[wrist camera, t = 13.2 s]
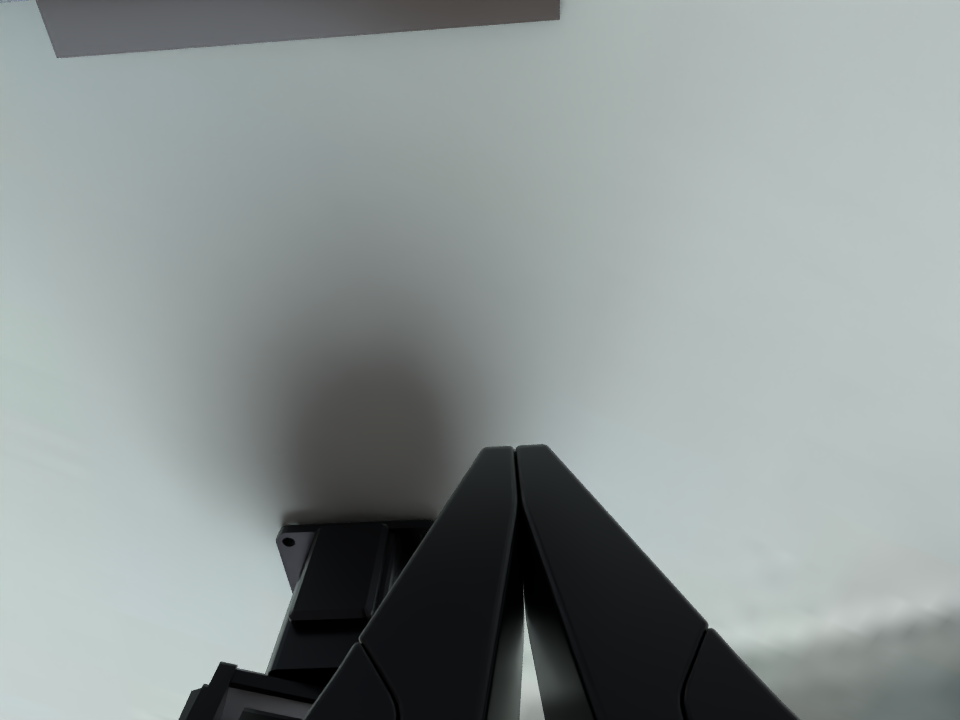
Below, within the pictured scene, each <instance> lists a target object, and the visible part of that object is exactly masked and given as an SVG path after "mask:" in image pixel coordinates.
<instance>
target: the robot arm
mask: <svg viewBox="0 0 960 720" xmlns="http://www.w3.org/2000/svg"><path fill="white" fill-rule="evenodd" d="M424 532H427V533H424ZM287 537H288V538H287ZM289 538H292V539H289ZM276 543H277V546H278V550H279V553H280V556H281V559H282V562H283V565H284V568H285V571H286V574H287V578H288V581H289V584H290V587H291V590H292V593H293V595H292V598H291V601H290V604H289V607H288V609H287V612H286V615H285V618H284V621H283V624H282V627H281V630H280V633H279V635H278V638H277V641H276V644H275V647H274V650H273V653H272V656H271V658H270V661H269V664H268V667H267V670H266V673H265V674H262V673H258V672H253V671H248V670H243V669H239V668H237V666H238V665H235V664H230V663H226V662H220V664H219V666H218V668H217V670H216V672H215V674H214V676H213V678H212V680H211V682H210V683H209V685H207V684H204V685H203V686H202V688H200V689H197V690H193V691H191V694H190V696H189V698H188V700H187V702H186V705H185V707H184V709H183V711H182V713H181V716H180V718H179V720H519V716H520V698H521V680H522V662H523V644H524V603H525V613H526V621H527V627H528V633H529V639H530V644H531V649H532V655H533V660H534V665H535V670H536V675H537V680H538V686H539V691H540V696H541V701H542V706H543V711H544V717H545V720H800V719H799V718H798V717H797V716H796V715H795V714H794V713H793V712H792V711H791V710H790V709H789V708H788V707H787V706H786V705H785V704H784V703H783V702H782V701H781V700H780V699H779V698H778V697H777V696H776V695H775V694H774V693H773V692H772V691H771V690H770V689H769V688H768V687H767V686H766V685H765V684H764V682H763V681H762V680H761V679H760V678H759V677H758V676H757V675H756V674H755V673H754V672H753V671H752V670H751V669H750V668H749V667H748V666H747V665H746V664H745V663H744V662H743V660H742V659H741V658H740V657H739V656H738V655H737V654H736V653H735V652H734V651H733V650H732V649H731V647H730V646H729V645H728V644H727V643H726V642H725V641H724V640H723V638H722V637H721V636H720V635H719V634H718V633H717V632H716V631H715V630H714V629H713V628H709V629H708V623H707V621H706V620H705V619H704V618H703V617H702V616H701V615H700V613H699V612H698V611H697V610H696V609H695V608H694V607H693V606H692V605H691V603H690V602H689V601H688V600H687V599H686V598H685V597H684V596H683V595H682V594H681V592H680V591H679V590H678V589H677V588H676V587H675V586H674V585H673V584H672V583H671V581H670V580H669V579H668V578H667V577H666V576H665V575H664V574H663V573H662V571H661V570H660V569H659V568H658V567H657V566H656V565H655V564H654V563H653V562H652V560H651V559H650V558H649V557H648V556H647V555H646V554H645V553H644V552H643V551H642V549H641V548H640V547H639V546H638V545H637V544H636V543H635V542H634V541H633V539H632V538H631V537H630V536H629V535H628V534H627V533H626V532H625V531H624V530H623V528H622V527H621V526H620V525H619V524H618V523H617V522H616V521H615V520H614V519H613V517H612V516H611V515H610V514H609V513H608V512H607V511H606V510H605V509H604V507H603V506H602V505H601V504H600V503H599V502H598V501H597V500H596V499H595V498H594V496H593V495H592V494H591V493H590V492H589V491H588V490H587V489H586V488H585V487H584V485H583V484H582V483H581V482H580V481H579V480H578V479H577V478H576V477H575V475H574V474H573V473H572V472H571V471H570V470H569V469H568V468H567V467H566V466H565V464H564V463H563V462H562V461H561V460H560V459H559V458H558V457H557V456H556V455H555V453H554V452H553V451H552V450H551V449H550V448H549V447H548V446H547V445H544V444H538V445H520V446H518V447H517V448H516V449H515V451H514V449H513V447H511V446H499V447H486V448H484V449H482V450H481V452H480V453H479V455H478V456H477V458H476V459H475V461H474V462H473V464H472V465H471V467H470V468H469V470H468V471H467V473H466V475H465V476H464V478H463V479H462V481H461V482H460V484H459V485H458V487H457V488H456V490H455V491H454V493H453V494H452V496H451V497H450V499H449V500H448V502H447V504H446V505H445V507H444V508H443V510H442V511H441V513H440V514H439V516H438V517H437V519H436V520H435V522H434V521H432V520H405V521H382V522H359V523H336V524H313V525H290V526H284V527H283V528H281V529H280V531H279V533H278V536H277V538H276ZM523 590H524V595H523Z"/></svg>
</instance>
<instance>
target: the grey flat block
mask: <svg viewBox="0 0 960 720" xmlns="http://www.w3.org/2000/svg"><path fill="white" fill-rule="evenodd" d="M13 1H26V0H0V3H1V2H13Z"/></svg>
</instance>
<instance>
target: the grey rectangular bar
mask: <svg viewBox="0 0 960 720" xmlns="http://www.w3.org/2000/svg"><path fill="white" fill-rule="evenodd" d="M36 2H37V5H38V8H39V10H40V13H41V16H42V19H43V21H44V24H45V27H46V29H47V32H48V35H49V38H50V40H51V43H52V46H53V48H54V51H55V54H56V57H57V58H65V57H79V56H92V55H105V54H118V53H131V52H144V51H157V50H170V49H183V48H196V47H209V46H222V45H236V44H249V43H262V42H275V41H288V40H301V39H314V38H327V37H340V36H353V35H366V34H379V33H392V32H405V31H418V30H431V29H444V28H457V27H470V26H484V25H497V24H510V23H523V22H536V21H549V20H559V19H560V0H36Z"/></svg>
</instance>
